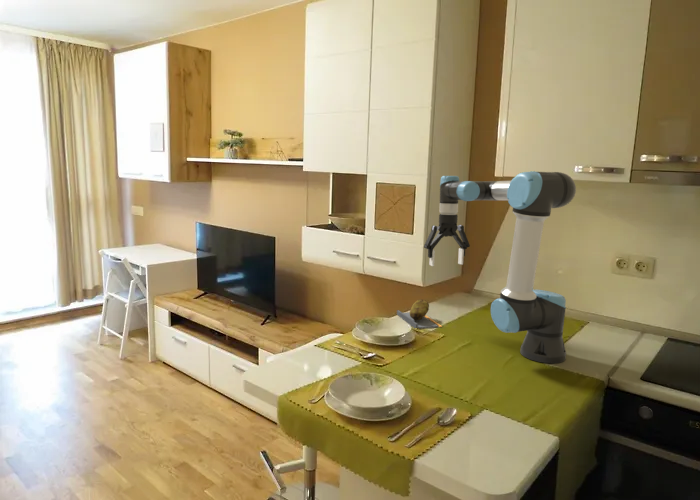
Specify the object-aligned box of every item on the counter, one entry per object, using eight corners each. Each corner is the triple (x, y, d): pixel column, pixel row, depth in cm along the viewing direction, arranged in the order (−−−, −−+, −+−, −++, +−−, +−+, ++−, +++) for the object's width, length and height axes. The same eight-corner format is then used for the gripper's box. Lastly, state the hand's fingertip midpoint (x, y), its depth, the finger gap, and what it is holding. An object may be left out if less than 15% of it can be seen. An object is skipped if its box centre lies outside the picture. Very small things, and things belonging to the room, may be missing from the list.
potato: (401, 315, 214) (407, 297, 213) (414, 314, 225) (419, 297, 224) (418, 323, 210) (424, 304, 209) (430, 321, 221) (436, 303, 220)
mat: (437, 327, 210) (437, 322, 210) (415, 329, 207) (416, 324, 207) (417, 313, 229) (417, 308, 229) (396, 314, 226) (397, 310, 226)
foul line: (442, 326, 211) (442, 326, 211) (439, 327, 210) (439, 326, 210) (421, 312, 230) (421, 312, 229) (419, 313, 229) (419, 312, 229)
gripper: (469, 212, 217) (467, 262, 220) (416, 213, 209) (415, 264, 212) (479, 214, 210) (477, 264, 213) (425, 214, 202) (423, 267, 205)
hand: (446, 264), depth 213 cm, fingers open, 13 cm apart
